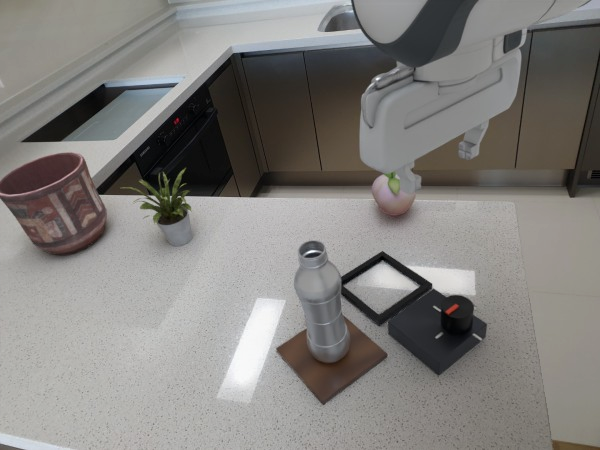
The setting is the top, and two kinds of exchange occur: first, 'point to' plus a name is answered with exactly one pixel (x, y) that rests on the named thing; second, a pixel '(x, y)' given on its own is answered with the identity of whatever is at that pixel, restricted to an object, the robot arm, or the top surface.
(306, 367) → the trivet
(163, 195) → the house plant
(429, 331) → the panel
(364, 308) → the black flat square frame
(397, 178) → the decorative fruit
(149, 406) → the top surface
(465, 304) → the knob
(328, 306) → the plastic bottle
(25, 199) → the pottery
